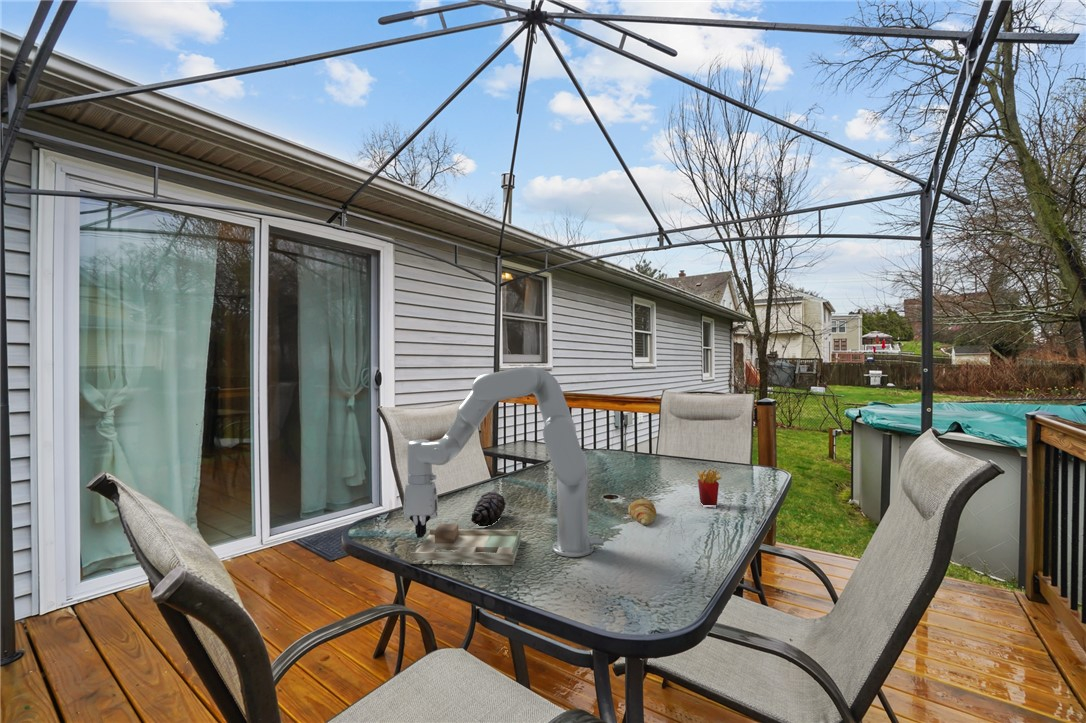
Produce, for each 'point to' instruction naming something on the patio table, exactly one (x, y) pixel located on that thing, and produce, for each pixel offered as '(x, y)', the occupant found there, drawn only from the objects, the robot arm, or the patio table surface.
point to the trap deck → (473, 547)
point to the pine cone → (488, 509)
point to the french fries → (708, 487)
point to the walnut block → (446, 533)
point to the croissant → (642, 511)
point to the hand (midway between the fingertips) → (420, 536)
